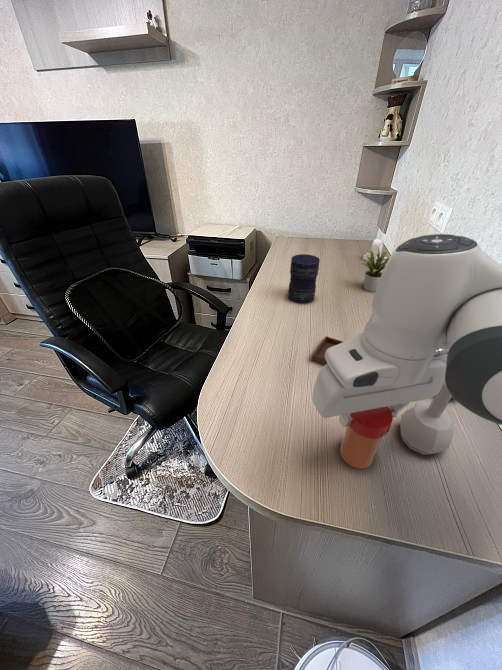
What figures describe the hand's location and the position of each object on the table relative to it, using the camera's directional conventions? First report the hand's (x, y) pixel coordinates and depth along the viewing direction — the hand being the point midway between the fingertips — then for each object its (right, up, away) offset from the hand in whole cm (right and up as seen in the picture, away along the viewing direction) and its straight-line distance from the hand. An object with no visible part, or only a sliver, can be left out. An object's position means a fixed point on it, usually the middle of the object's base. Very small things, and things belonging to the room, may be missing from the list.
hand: (366, 418), depth 47 cm
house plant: (+28, +32, +63) cm, 76 cm away
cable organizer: (+41, +51, +90) cm, 111 cm away
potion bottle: (+14, -7, +8) cm, 17 cm away
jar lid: (0, +1, -1) cm, 2 cm away
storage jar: (-1, +28, +58) cm, 64 cm away
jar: (0, -8, +6) cm, 10 cm away
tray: (+4, +8, +29) cm, 30 cm away
